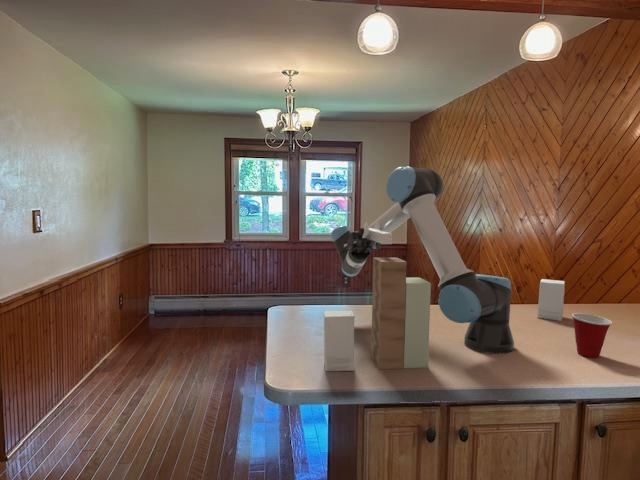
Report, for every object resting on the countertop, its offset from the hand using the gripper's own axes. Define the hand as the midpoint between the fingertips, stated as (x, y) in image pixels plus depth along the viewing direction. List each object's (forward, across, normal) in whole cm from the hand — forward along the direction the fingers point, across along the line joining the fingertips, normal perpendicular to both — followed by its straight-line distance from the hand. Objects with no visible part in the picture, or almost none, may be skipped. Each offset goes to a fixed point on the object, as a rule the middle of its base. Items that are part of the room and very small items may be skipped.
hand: (372, 225), depth 144 cm
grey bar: (+2, 0, -6) cm, 6 cm away
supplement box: (-41, -82, -21) cm, 94 cm away
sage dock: (-3, -7, -43) cm, 43 cm away
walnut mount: (-3, 0, -43) cm, 43 cm away
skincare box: (-1, +14, -44) cm, 46 cm away
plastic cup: (-3, -65, -43) cm, 78 cm away
